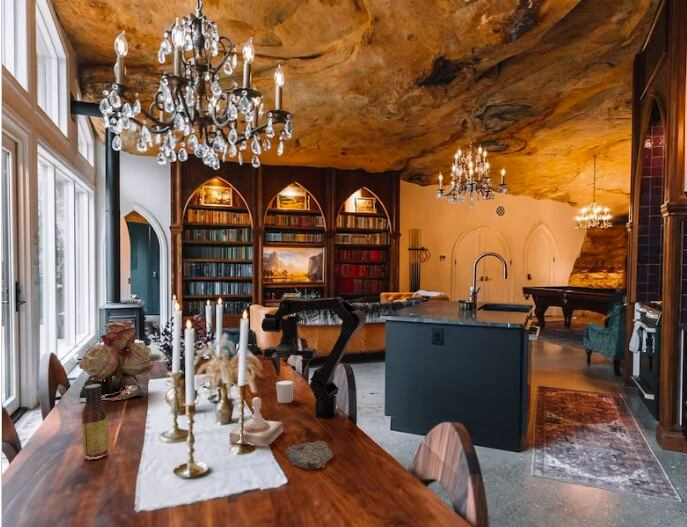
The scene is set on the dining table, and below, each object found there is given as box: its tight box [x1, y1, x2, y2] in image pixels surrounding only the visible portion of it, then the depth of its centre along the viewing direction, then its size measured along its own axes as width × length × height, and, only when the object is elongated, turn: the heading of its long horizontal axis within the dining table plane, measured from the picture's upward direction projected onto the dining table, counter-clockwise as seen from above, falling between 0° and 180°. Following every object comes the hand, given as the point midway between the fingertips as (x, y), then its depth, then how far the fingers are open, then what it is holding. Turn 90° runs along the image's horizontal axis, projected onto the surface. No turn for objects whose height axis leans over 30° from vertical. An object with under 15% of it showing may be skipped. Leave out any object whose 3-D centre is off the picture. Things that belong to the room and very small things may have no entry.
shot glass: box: [275, 380, 295, 404], centre depth 175 cm, size 7×7×7 cm
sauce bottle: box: [81, 384, 110, 457], centre depth 128 cm, size 6×6×20 cm
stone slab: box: [285, 440, 334, 471], centre depth 126 cm, size 12×17×3 cm
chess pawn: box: [249, 396, 266, 430], centre depth 140 cm, size 5×5×9 cm
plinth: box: [229, 418, 284, 448], centre depth 140 cm, size 12×12×3 cm
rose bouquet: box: [78, 319, 154, 401], centre depth 187 cm, size 26×29×30 cm
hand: (290, 376), depth 165 cm, fingers open, 9 cm apart
